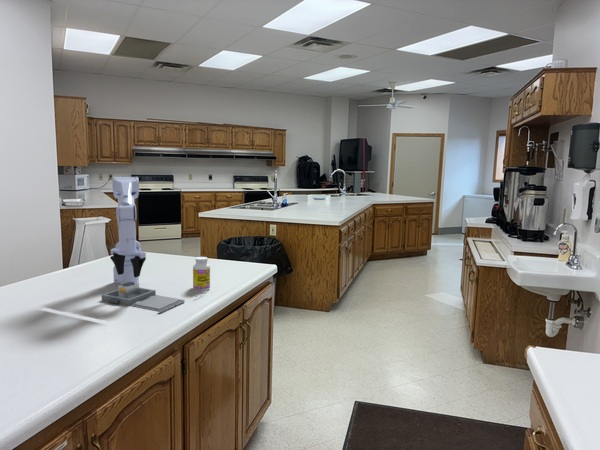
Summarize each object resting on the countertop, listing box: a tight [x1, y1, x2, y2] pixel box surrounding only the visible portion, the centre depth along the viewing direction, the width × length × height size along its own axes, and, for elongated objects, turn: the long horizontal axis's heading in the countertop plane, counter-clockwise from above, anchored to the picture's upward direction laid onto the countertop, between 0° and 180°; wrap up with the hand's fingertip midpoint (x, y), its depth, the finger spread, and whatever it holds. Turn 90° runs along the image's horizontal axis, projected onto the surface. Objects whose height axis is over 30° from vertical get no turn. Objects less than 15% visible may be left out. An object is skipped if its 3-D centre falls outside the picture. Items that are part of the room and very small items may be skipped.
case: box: [101, 287, 185, 315], centre depth 157 cm, size 26×14×3 cm, turn 67°
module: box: [117, 282, 140, 299], centre depth 160 cm, size 4×6×5 cm, turn 157°
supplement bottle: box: [192, 256, 211, 291], centre depth 175 cm, size 7×7×13 cm
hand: (128, 275), depth 159 cm, fingers open, 7 cm apart
